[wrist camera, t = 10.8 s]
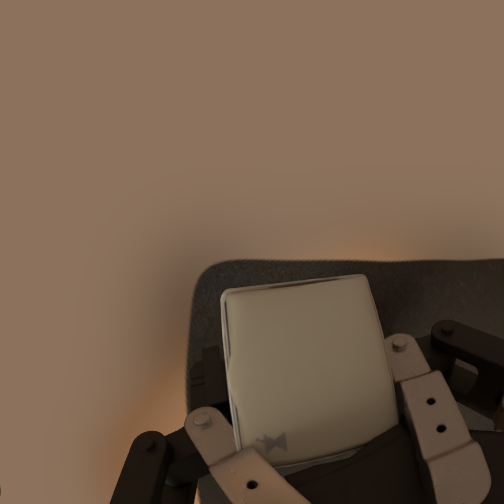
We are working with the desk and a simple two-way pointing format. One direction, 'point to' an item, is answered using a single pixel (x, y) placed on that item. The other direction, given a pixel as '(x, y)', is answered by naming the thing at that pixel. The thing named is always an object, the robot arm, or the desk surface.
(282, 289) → the box
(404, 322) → the desk surface
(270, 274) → the desk surface
